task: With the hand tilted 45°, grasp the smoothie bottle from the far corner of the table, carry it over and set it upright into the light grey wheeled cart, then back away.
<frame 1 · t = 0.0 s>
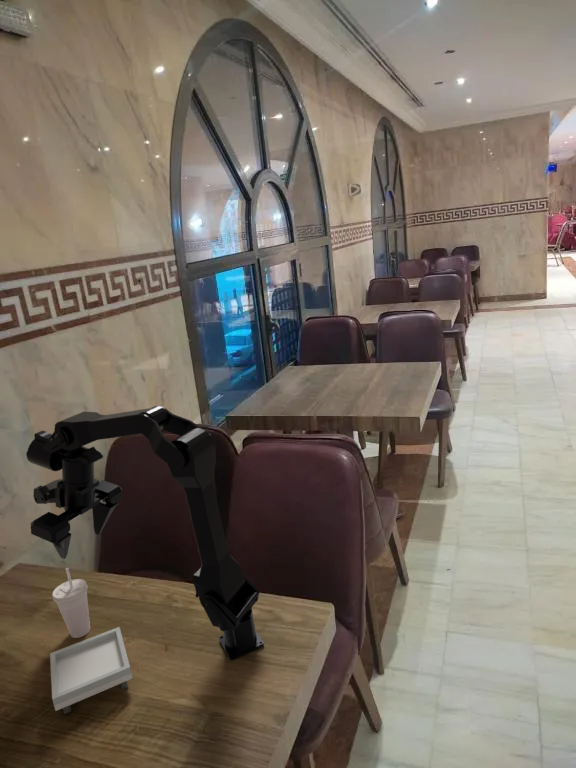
hand: (80, 545, 108), 15 cm above the table, tool pointing down, fingers open, 9 cm apart
cart: (91, 670, 92), point 2 cm above the table, slide at 0.0 cm
smoothie: (80, 632, 107), on the table
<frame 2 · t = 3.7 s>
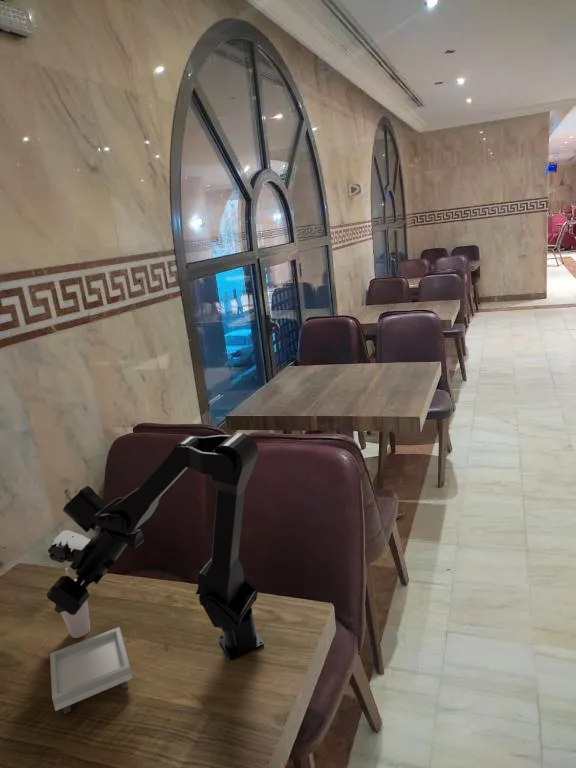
hand: (65, 600, 105), 7 cm above the table, tool tilted 45°, fingers closed on smoothie, 6 cm apart
smoothie: (80, 632, 107), on the table, touching gripper
everything else where it was.
when the fingers open (11 cm above the table, at t = 7.6 s): smoothie drops 1 cm, resting on cart.
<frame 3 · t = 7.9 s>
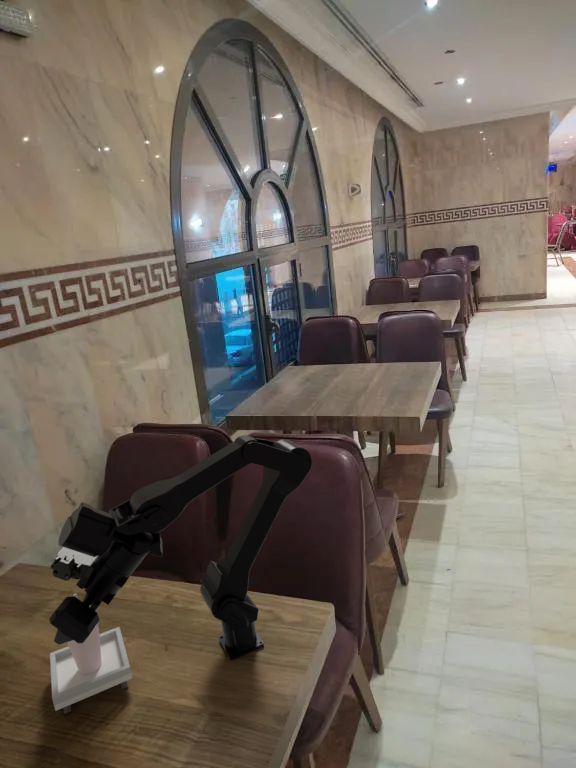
hand: (71, 623, 90), 12 cm above the table, tool tilted 45°, fingers open, 9 cm apart
cart: (91, 670, 92), point 2 cm above the table, slide at 0.0 cm, touching smoothie
smoothie: (90, 667, 92), point 3 cm above the table, touching cart
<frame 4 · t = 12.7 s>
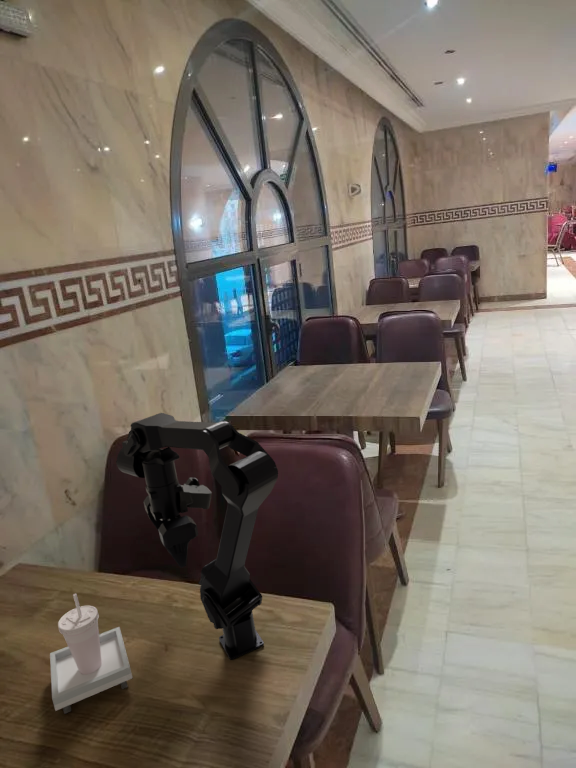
hand: (177, 555, 104), 13 cm above the table, tool pointing down, fingers open, 9 cm apart
nothing on the table moved.
at the end: smoothie 0.2 cm off-centre on the cart, point 2.9 cm above the cart's base; smoothie tilted 0°; the gripper is holding nothing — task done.
